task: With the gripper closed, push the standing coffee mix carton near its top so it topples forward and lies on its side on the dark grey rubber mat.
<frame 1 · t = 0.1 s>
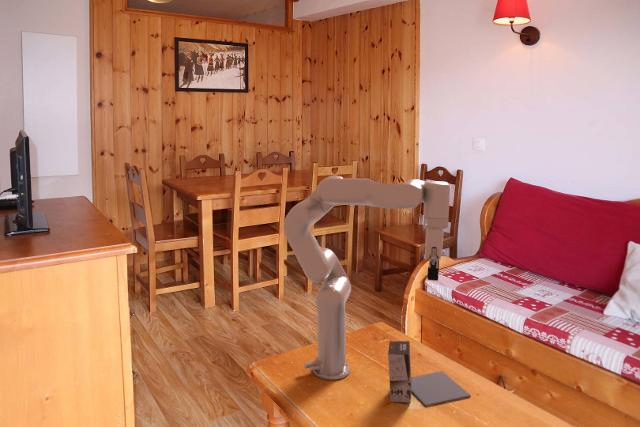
hand: (433, 275, 166), 37 cm above the table, tool pointing down, fingers open, 9 cm apart
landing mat: (434, 388, 170), on the table
coffee box: (401, 395, 166), on the table, touching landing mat
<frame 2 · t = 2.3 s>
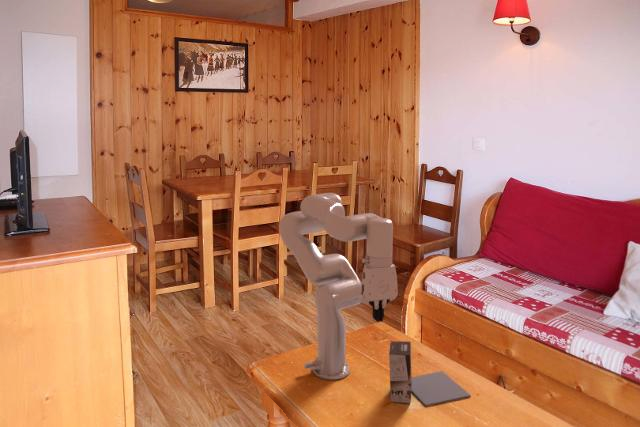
hand: (378, 319, 157), 27 cm above the table, tool pointing down, fingers closed
nothing on the table moved.
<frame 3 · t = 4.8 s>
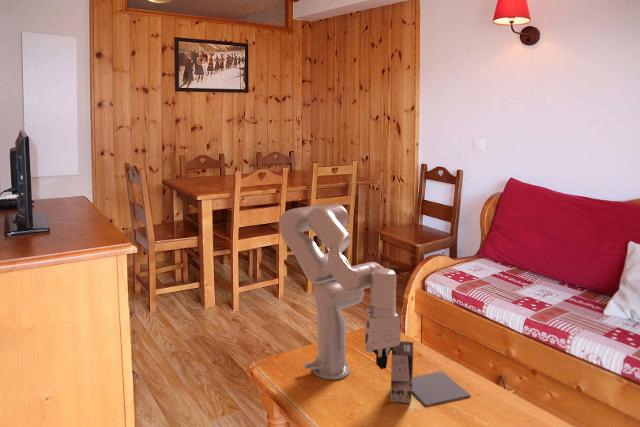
hand: (381, 366, 161), 11 cm above the table, tool pointing down, fingers closed
coffee box: (401, 394, 166), on the table, touching gripper, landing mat
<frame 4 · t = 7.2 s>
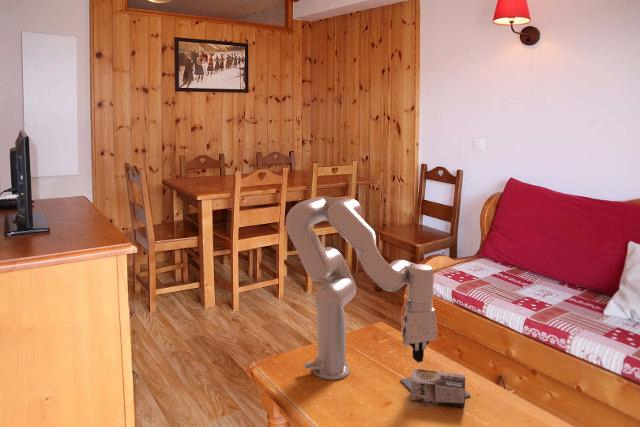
hand: (417, 360, 165), 11 cm above the table, tool pointing down, fingers closed
coffee box: (411, 383, 166), point 4 cm above the table, touching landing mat
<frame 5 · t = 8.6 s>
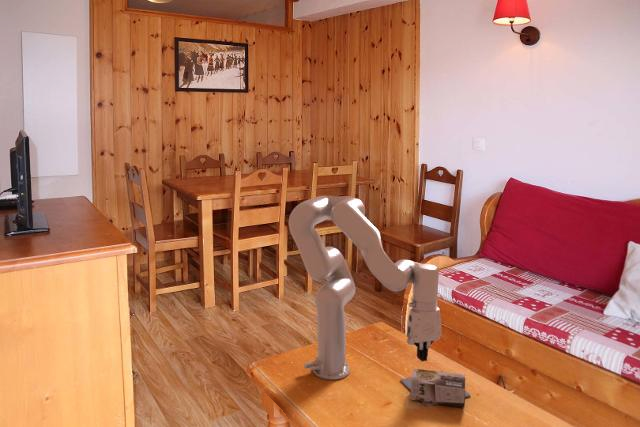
hand: (422, 359, 166), 11 cm above the table, tool pointing down, fingers closed
nothing on the table moved.
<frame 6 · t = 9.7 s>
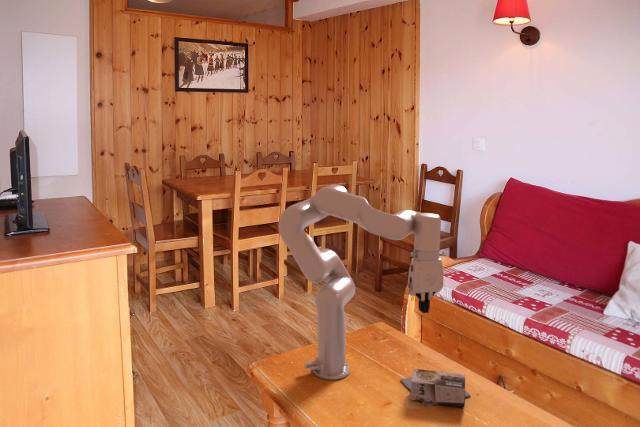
hand: (423, 311, 163), 27 cm above the table, tool pointing down, fingers closed
nothing on the table moved.
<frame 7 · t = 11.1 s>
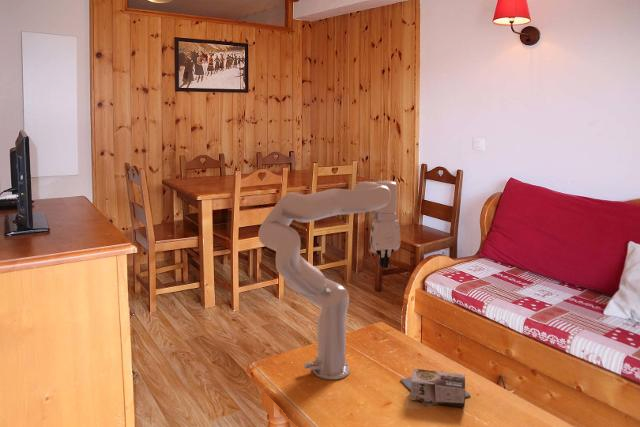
hand: (384, 267, 187), 33 cm above the table, tool pointing down, fingers closed
nothing on the table moved.
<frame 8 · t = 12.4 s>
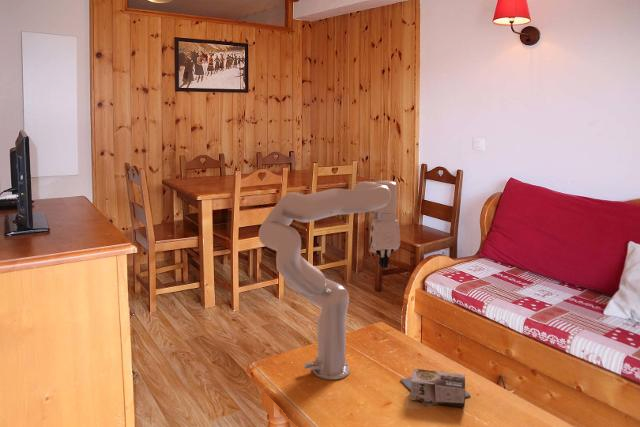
hand: (383, 266, 187), 33 cm above the table, tool pointing down, fingers closed
nothing on the table moved.
at the end: coffee box tilted 90°; coffee box touching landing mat; coffee box inside the target area (2.5 cm from its centre), point 3.8 cm above the table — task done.
